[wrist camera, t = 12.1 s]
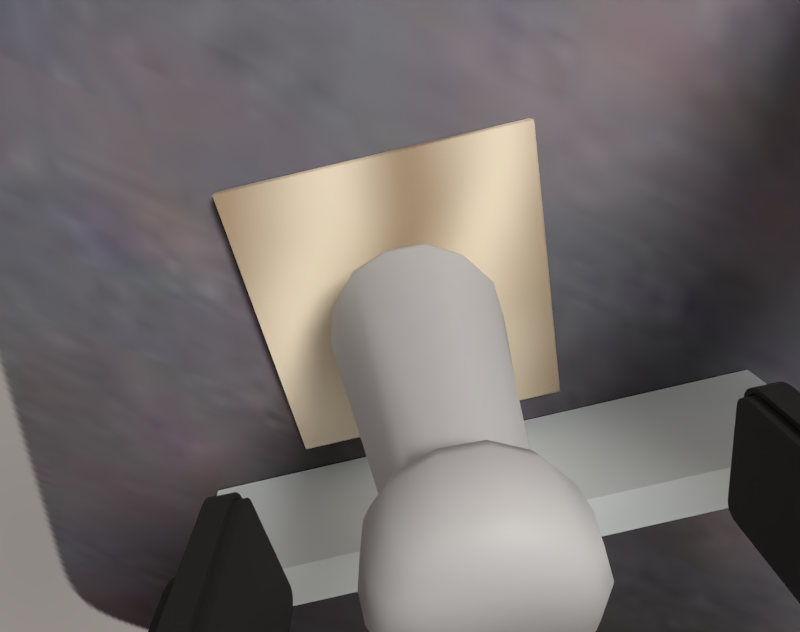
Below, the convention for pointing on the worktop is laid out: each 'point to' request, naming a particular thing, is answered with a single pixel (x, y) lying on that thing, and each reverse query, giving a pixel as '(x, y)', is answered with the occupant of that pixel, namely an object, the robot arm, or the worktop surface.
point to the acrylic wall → (556, 443)
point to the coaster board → (383, 230)
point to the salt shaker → (456, 462)
